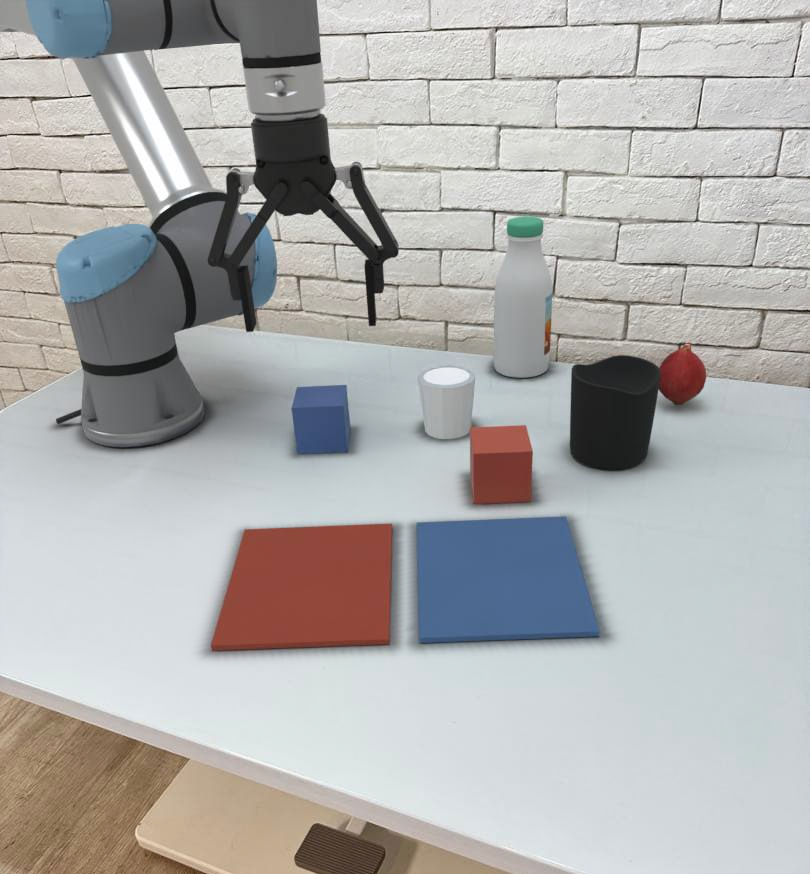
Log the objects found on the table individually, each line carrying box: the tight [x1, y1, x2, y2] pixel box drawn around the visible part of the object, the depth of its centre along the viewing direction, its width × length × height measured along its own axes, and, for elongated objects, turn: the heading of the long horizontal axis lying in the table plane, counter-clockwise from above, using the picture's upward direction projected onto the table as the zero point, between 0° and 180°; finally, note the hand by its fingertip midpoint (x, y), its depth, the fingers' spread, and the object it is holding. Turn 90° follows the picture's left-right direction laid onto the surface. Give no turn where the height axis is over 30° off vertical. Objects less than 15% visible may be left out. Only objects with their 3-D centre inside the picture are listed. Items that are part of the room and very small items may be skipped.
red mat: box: [210, 522, 393, 651], centre depth 79 cm, size 15×18×1 cm
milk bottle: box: [493, 216, 553, 379], centre depth 114 cm, size 8×8×20 cm
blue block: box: [290, 384, 352, 455], centre depth 102 cm, size 6×6×6 cm
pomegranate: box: [658, 343, 707, 406], centre depth 105 cm, size 6×6×8 cm
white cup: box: [417, 364, 476, 440], centre depth 103 cm, size 7×7×7 cm
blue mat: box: [416, 515, 600, 644], centre depth 78 cm, size 15×18×1 cm
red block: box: [469, 424, 534, 505], centre depth 90 cm, size 6×6×6 cm
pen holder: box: [569, 354, 661, 471], centre depth 95 cm, size 9×9×10 cm
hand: (312, 325), depth 95 cm, fingers open, 13 cm apart
